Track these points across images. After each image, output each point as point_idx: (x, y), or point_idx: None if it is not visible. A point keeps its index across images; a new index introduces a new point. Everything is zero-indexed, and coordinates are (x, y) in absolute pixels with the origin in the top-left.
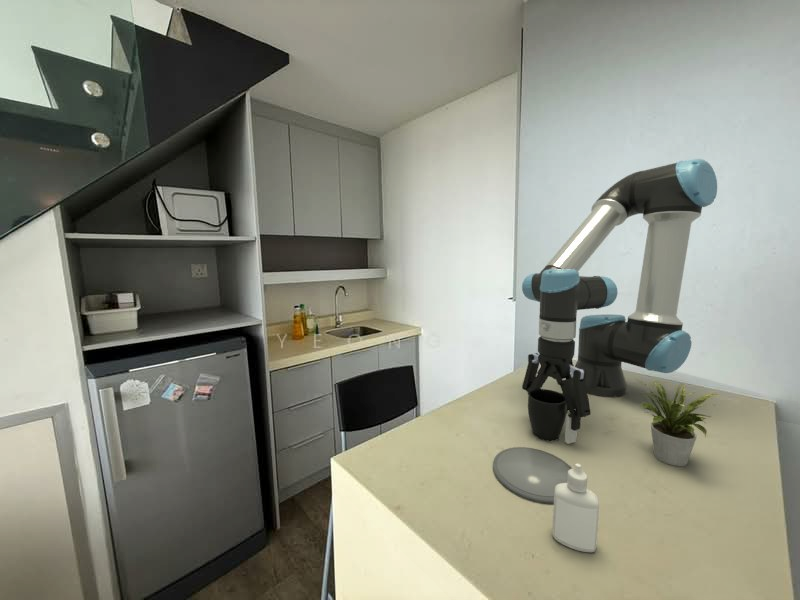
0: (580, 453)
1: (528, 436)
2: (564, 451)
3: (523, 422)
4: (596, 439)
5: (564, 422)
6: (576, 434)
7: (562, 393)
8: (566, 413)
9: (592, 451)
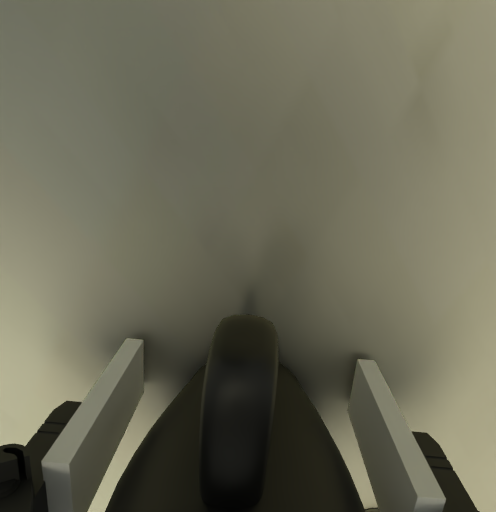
0: (422, 403)
1: None
2: None
3: None
4: (416, 234)
5: (333, 440)
6: (386, 385)
7: (220, 465)
8: (357, 497)
9: (450, 349)
